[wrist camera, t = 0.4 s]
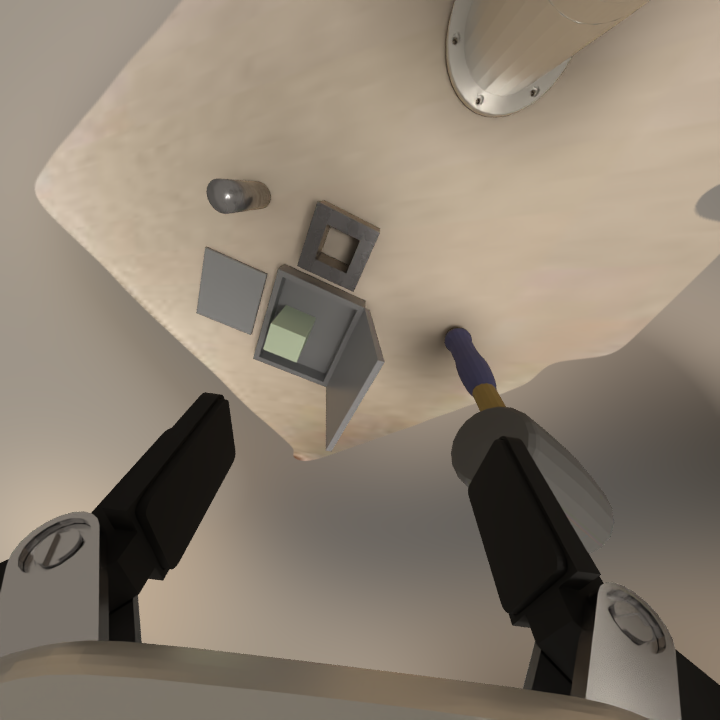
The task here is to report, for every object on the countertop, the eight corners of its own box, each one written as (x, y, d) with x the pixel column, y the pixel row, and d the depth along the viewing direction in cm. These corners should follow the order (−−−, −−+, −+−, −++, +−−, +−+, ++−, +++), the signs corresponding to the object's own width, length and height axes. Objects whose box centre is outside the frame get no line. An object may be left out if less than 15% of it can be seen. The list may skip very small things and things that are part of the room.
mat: (207, 246, 40) (205, 247, 39) (267, 273, 41) (266, 274, 41) (198, 311, 45) (196, 313, 45) (251, 333, 47) (250, 334, 46)
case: (284, 264, 40) (278, 269, 38) (365, 300, 43) (364, 308, 40) (259, 349, 48) (253, 358, 46) (328, 377, 51) (326, 387, 48)
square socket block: (324, 200, 36) (317, 201, 32) (379, 228, 37) (379, 232, 33) (305, 258, 40) (297, 265, 36) (355, 282, 41) (353, 291, 37)
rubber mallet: (411, 325, 44) (454, 510, 19) (450, 292, 41) (564, 460, 16) (459, 371, 48) (548, 576, 23) (497, 344, 45) (651, 547, 20)
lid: (377, 360, 29) (384, 362, 30) (364, 308, 40) (369, 309, 40) (325, 450, 37) (331, 451, 38) (326, 387, 48) (330, 388, 48)
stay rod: (250, 176, 35) (208, 172, 26) (273, 188, 36) (239, 187, 27) (245, 201, 36) (204, 205, 28) (267, 212, 37) (234, 219, 28)
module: (286, 304, 43) (271, 323, 37) (316, 317, 44) (306, 337, 38) (278, 328, 45) (263, 349, 39) (307, 340, 46) (296, 362, 40)
